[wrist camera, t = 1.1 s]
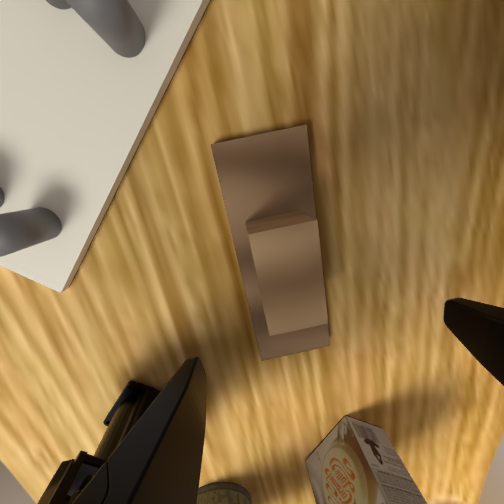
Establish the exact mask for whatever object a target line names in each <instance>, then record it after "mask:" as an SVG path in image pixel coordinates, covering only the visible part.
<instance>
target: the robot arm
mask: <svg viewBox="0 0 504 504" xmlns="http://www.w3.org/2000/svg"><path fill="white" fill-rule="evenodd" d="M444 322H445V324H446V326H447V327H448V328H449V329H450V331H451V332H452V333H453V334H454V335H455V336H456V337H457V338H458V339H459V340H460V342H461V343H462V344H463V345H464V346H465V347H466V348H467V349H468V350H469V352H470V353H471V354H472V355H473V356H474V357H475V358H476V359H477V360H478V361H479V362H480V363H481V364H482V365H483V366H484V367H485V368H486V369H487V370H488V371H489V372H490V373H491V374H492V375H493V376H494V377H495V378H496V379H497V380H498V381H499V382H500V383H501V384H502V385H503V386H504V308H501V307H497V306H493V305H489V304H484V303H480V302H476V301H472V300H467V299H463V298H454V299H450V300H447V301H446V302H445V307H444ZM131 386H132V387H131ZM103 423H104V424H105V425H106V426H108V428H107V430H106V432H105V434H104V436H103V438H102V440H101V442H100V444H99V446H98V448H97V450H96V452H95V454H94V456H92V455H89V454H87V452H85V451H80V453H79V454H78V456H77V457H76V458H75V460H74V459H72V460H68V461H63V462H62V463H61V465H60V466H59V468H58V470H57V471H56V473H55V475H54V476H53V478H52V480H51V481H50V483H49V485H48V486H47V488H46V490H45V491H44V493H43V495H42V497H41V498H40V500H39V502H38V504H197V497H198V488H199V480H200V471H201V462H202V454H203V445H204V437H205V426H206V374H205V371H204V368H203V365H202V363H201V360H200V358H199V357H197V356H196V357H192V358H188V359H186V361H185V362H184V363H183V364H182V366H181V367H180V368H179V369H178V371H177V372H176V373H175V374H174V376H173V377H172V378H171V380H170V381H169V382H168V383H167V385H166V386H165V387H164V388H163V390H162V391H161V392H160V391H157V390H155V389H152V388H150V387H147V386H145V385H142V384H140V383H137V382H134V381H130V382H129V383H128V384H127V385H126V387H125V389H124V390H123V392H122V393H121V395H120V396H119V398H118V399H117V401H116V403H115V404H114V406H113V407H112V409H111V410H110V412H109V413H108V415H107V416H106V418H105V420H104V422H103Z"/></svg>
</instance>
